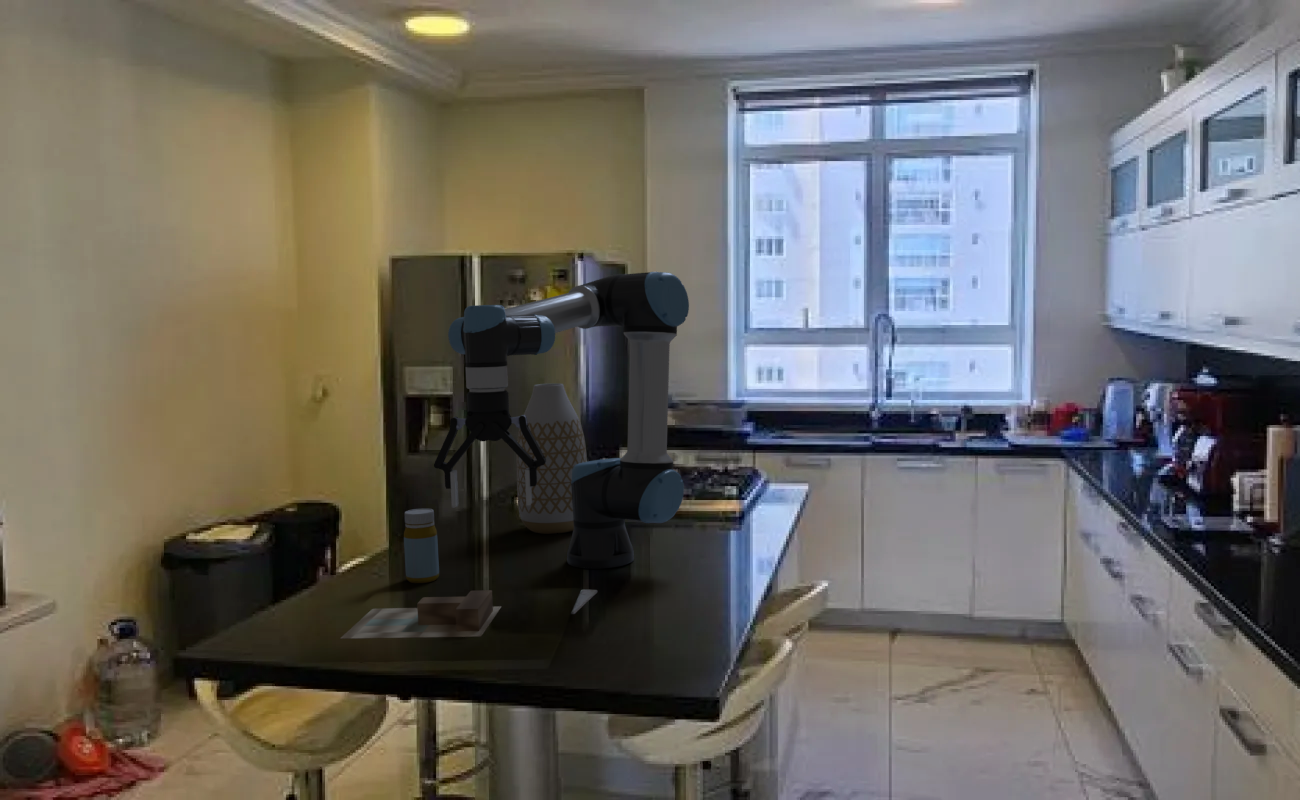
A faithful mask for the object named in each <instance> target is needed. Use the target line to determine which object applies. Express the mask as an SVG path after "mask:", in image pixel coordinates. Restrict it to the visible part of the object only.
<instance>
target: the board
mask: <svg viewBox="0 0 1300 800" xmlns="http://www.w3.org/2000/svg"><path fill="white" fill-rule="evenodd" d="M501 608H502V606H501V605H499V606H493V612H492V613H491V615H490V616H489V618H488V619H487V620H486V622H485V623H484V625H483V626H482V628H481V629H480V630H479V631H457V626H456V625H418V609H417V607H397V608H396V607H394V608H393V607H391V608H383V607H382V608H372V609H370V611H369V612H367V613H366V614H365V615H364V616H363V617H362V618H361V619H360V620H359V621H357V622H356V623H355V624H354V625H353V626H352V627H351V628H350V629H348V631H346V632H345V633H344V634H343V635H342V636H341V637H340V640H342V639H343V640H344V639H349V640H350V639H352V640H353V639H401V638H402V639H408V638H409V639H411V638H415V639H416V638H462V637H463V638H464V637H465V638H471V637H472V638H473V637H476V638H477V637H482V636H483V634H484V633H485V632H486V630H487V629H488V628H489V626H490V625H491V623H492V621H493V620H494V619H495V617H496V616H497V614H498V613H499V611H500V609H501Z"/></svg>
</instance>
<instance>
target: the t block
mask: <svg viewBox="0 0 1300 800" xmlns="http://www.w3.org/2000/svg"><path fill="white" fill-rule="evenodd" d="M493 603H494V602H493V590H492V589H491V590H489V589H488V590H485V589H483V590H482V589H481V590H470V591H469V592H468V593H467V595H466V596H430V597H429V596H426V597H425V596H424V597H422V598H421V599H420V600H419V601H418V602H417V603H416V604H417V605H416V608H417V609H418V625H456V626H457V631H479V630H480V629H481V628H482V626H483V625H484V623H485V622H486V620H487V619H488V618H489V616H490V615H491V613H492V612H493V607H494V604H493Z"/></svg>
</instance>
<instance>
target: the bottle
mask: <svg viewBox="0 0 1300 800" xmlns="http://www.w3.org/2000/svg"><path fill="white" fill-rule="evenodd" d="M404 523H405V524H404V525H405V528H404V531H403V546H404V547H403V549H404V563H405V564H404V565H405V578H406V580H407V581H408V582H409V583H412V584H426V583H432V582H434V581H436V580H438V578H439V576H440V566H439V565H440V564H439V545H438V530H437V528H436V526H435V512H434V509H432V508H413V509H409V510H406V511H404Z"/></svg>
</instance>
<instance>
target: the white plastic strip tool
mask: <svg viewBox="0 0 1300 800" xmlns="http://www.w3.org/2000/svg"><path fill="white" fill-rule="evenodd" d="M579 591H580V592H579V594H578V596H577V599H576V601H575V603H574V605H573V608H572V610H571V612H570V615H575V614H576V613H577V612H578V611H579V610H580V609H581V608H582V607H584V605H585V604H587V603H588V602H589V601H590V600H591V599H592V598H593V597H594V596H595V595H596V594H598V590H597V589H591V588H590V589H581V590H579Z"/></svg>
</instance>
